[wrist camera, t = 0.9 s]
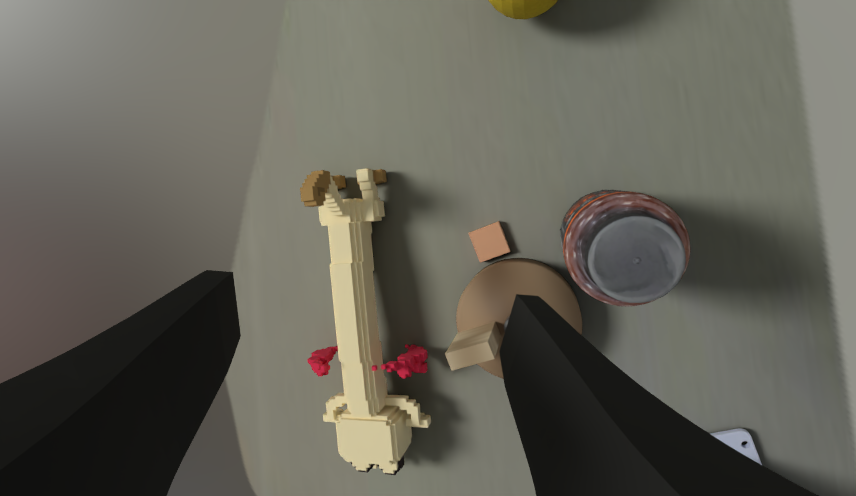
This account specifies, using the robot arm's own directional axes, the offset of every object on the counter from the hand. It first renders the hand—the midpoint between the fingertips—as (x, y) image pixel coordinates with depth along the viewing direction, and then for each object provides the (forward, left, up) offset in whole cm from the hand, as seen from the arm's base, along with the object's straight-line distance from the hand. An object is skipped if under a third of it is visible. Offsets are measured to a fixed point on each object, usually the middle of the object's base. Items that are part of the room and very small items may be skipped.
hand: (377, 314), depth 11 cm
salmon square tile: (-1, 0, -21) cm, 21 cm away
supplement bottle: (-3, -8, -21) cm, 23 cm away
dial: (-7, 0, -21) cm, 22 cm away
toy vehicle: (-4, +12, -22) cm, 25 cm away
